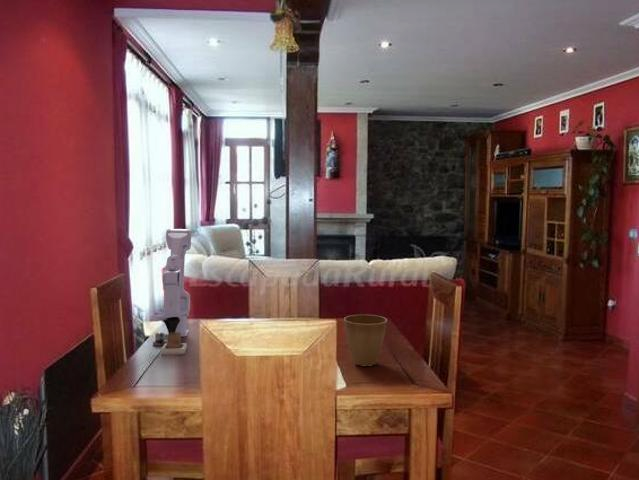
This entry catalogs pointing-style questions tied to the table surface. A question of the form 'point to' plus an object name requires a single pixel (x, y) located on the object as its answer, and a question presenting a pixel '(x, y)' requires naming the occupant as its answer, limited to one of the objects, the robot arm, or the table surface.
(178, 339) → the block
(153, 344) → the crank base
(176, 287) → the robot arm
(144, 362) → the table surface
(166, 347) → the tray
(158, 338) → the crank
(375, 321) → the plant pot
